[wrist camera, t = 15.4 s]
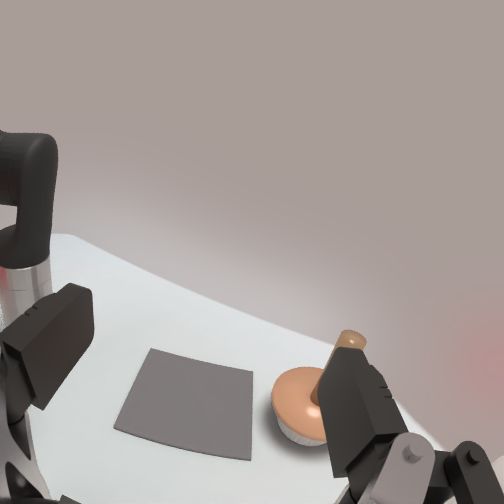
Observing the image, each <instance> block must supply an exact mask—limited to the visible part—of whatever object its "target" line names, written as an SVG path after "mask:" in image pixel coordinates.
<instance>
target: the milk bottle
mask: <svg viewBox="0 0 504 504" xmlns="http://www.w3.org/2000/svg"><path fill="white" fill-rule="evenodd" d="M491 466H492V468H493V470H494V472H495V474H496V477H497V479H498V481H499V484H500V486H501V488H502V491H503V493H504V455H502V456H500V457H499V458H498V459H496V460H495V461H494V462H493V463H492V464H491ZM444 504H457V502H456V499H455V496H454V497H452V498H451V499H449V500H448V501H446V502H445V503H444Z"/></svg>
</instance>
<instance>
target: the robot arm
mask: <svg viewBox="0 0 504 504" xmlns="http://www.w3.org/2000/svg"><path fill="white" fill-rule="evenodd" d="M57 168H58V149H57V144H56V141H55V139H54V138H53V137H52V136H50V135H49V134H43V133H7V132H3V131H1V130H0V204H2V205H10V206H17V219H16V224H15V225H12V226H9V227H6V228H4V229H2V230H0V305H1V309H2V313H3V318H4V322H5V325H6V328H5V329H4V330H3V331H2V332H1V333H0V504H81V503H78V502H76V501H74V500H72V499H70V498H68V497H66V496H64V495H62V496H61V499H60V501H57V500H52V499H51V496H50V493H49V490H48V487H47V485H46V483H45V480H44V478H43V476H42V475H41V473H40V470H39V468H38V465H37V461H36V456H35V451H34V446H33V441H32V435H31V428H30V421H29V414H28V411H27V409H28V407H29V406H30V404H32V405H34V406H36V407H37V408H39V409H41V410H44V409H45V407H46V406H47V404H48V403H49V401H50V400H51V398H52V397H53V396H54V394H55V393H56V391H57V390H58V388H59V387H60V385H61V384H62V383H63V381H64V380H65V378H66V377H67V376H68V374H69V373H70V371H71V370H72V369H73V367H74V366H75V365H76V363H77V362H78V361H79V359H80V358H81V356H82V355H83V354H84V352H85V351H86V350H87V348H88V347H89V346H90V344H91V342H92V340H93V336H94V317H93V300H92V292H91V290H90V289H88V288H85V287H82V286H79V285H76V284H73V283H68V284H67V285H66V286H64V287H63V288H62V289H61V290H59V291H58V292H57V293H53V291H52V281H51V269H50V236H51V228H52V213H53V200H54V192H55V184H56V176H57ZM387 388H388V386H387V384H386V382H385V380H384V378H383V376H382V375H381V374H380V373H379V372H378V371H377V370H376V369H375V367H374V366H373V365H369V363H368V361H367V359H366V357H365V355H364V353H363V351H362V350H361V349H357V348H348V347H338V348H337V349H336V350H335V352H334V354H333V356H332V358H331V360H330V362H329V364H328V366H327V368H326V370H325V372H324V374H323V375H322V377H321V379H320V382H319V385H318V390H317V397H318V402H319V407H320V412H321V416H322V421H323V426H324V431H325V435H326V440H327V445H328V450H329V455H330V460H331V466H332V471H333V476H334V478H343V477H348V480H349V484H348V485H346V487H345V488H344V489H343V491H342V493H341V494H340V496H339V497H338V499H337V500H336V502H335V503H334V504H444V503H445V502H446V501H448V500H449V499H451V498H452V497H454V496H455V499H456V502H457V504H504V493H503V491H502V488H501V486H500V484H499V481H498V479H497V477H496V474H495V472H494V470H493V468H492V466H491V463H490V461H489V459H488V457H487V455H486V453H485V451H484V450H483V449H482V448H481V446H479V445H478V444H476V443H475V442H472V441H465V442H462V443H460V444H459V445H458V447H456V448H455V449H454V451H452V452H445V451H436V450H434V449H433V447H432V445H431V444H430V442H429V441H428V440H427V439H425V438H424V437H423V436H421V435H419V434H416V433H409V431H408V429H407V427H406V425H405V422H404V420H403V418H402V416H401V414H400V411H399V409H398V407H397V405H396V403H395V401H394V399H392V394H391V392H390V390H389V389H387Z"/></svg>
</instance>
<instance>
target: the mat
mask: <svg viewBox="0 0 504 504" xmlns="http://www.w3.org/2000/svg"><path fill="white" fill-rule="evenodd" d="M252 400H253V371H247V370H242V369H237V368H231V367H226V366H221V365H217V364H212V363H208V362H203V361H199V360H194V359H190V358H186V357H182V356H178V355H174V354H171V353H167V352H163V351H160V350H156V349H152V348H151V349H150V351H149V353H148V355H147V357H146V359H145V361H144V363H143V365H142V367H141V369H140V371H139V373H138V375H137V377H136V379H135V381H134V383H133V385H132V387H131V390H130V392H129V394H128V396H127V398H126V400H125V402H124V405H123V407H122V409H121V411H120V413H119V415H118V418H117V420H116V422H115V424H114V429H117V430H120V431H122V432H125V433H128V434H131V435H134V436H137V437H140V438H144V439H147V440H150V441H154V442H157V443H161V444H164V445H168V446H172V447H176V448H180V449H184V450H189V451H193V452H198V453H203V454H208V455H214V456H220V457H226V458H233V459H240V460H249V461H251V449H252Z"/></svg>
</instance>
